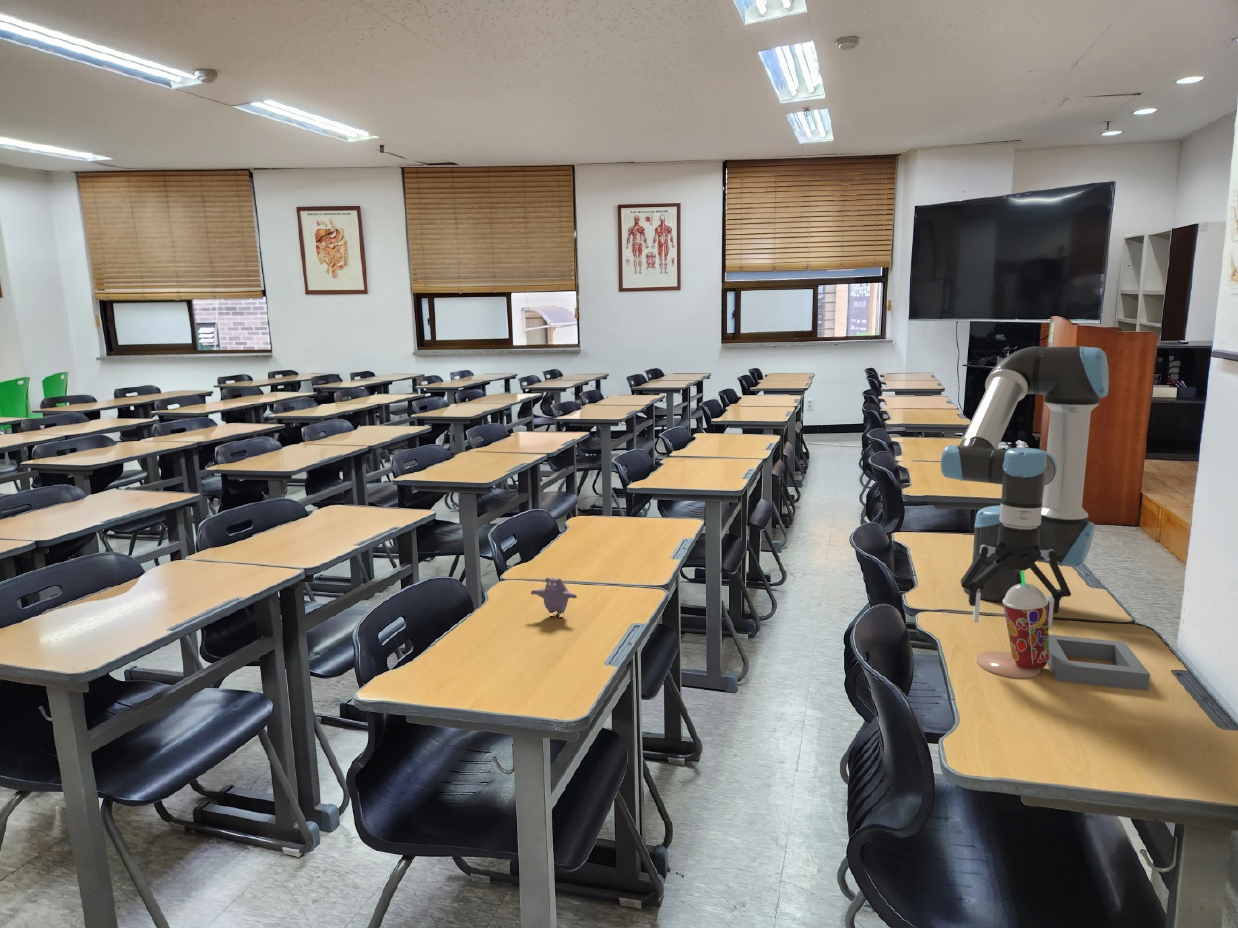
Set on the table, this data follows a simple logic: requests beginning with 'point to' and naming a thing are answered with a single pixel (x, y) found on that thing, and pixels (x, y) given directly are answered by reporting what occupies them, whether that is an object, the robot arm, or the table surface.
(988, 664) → the pink flat disc
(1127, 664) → the holder
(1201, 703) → the table surface
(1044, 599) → the smoothie
